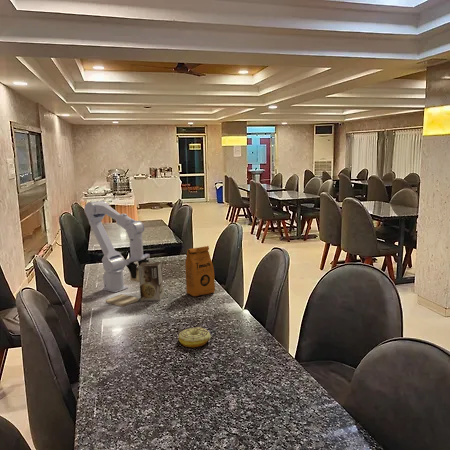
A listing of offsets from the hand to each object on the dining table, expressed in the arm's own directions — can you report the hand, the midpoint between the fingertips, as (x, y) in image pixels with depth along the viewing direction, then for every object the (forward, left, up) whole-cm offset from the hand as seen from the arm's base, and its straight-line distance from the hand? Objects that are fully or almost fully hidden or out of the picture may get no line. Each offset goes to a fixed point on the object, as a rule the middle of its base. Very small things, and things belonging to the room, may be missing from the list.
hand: (138, 276), depth 189 cm
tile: (+1, -11, -8) cm, 14 cm away
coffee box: (+10, -2, -8) cm, 13 cm away
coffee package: (+26, +14, -8) cm, 30 cm away
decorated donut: (+54, -27, -9) cm, 60 cm away
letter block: (0, 0, -2) cm, 2 cm away
